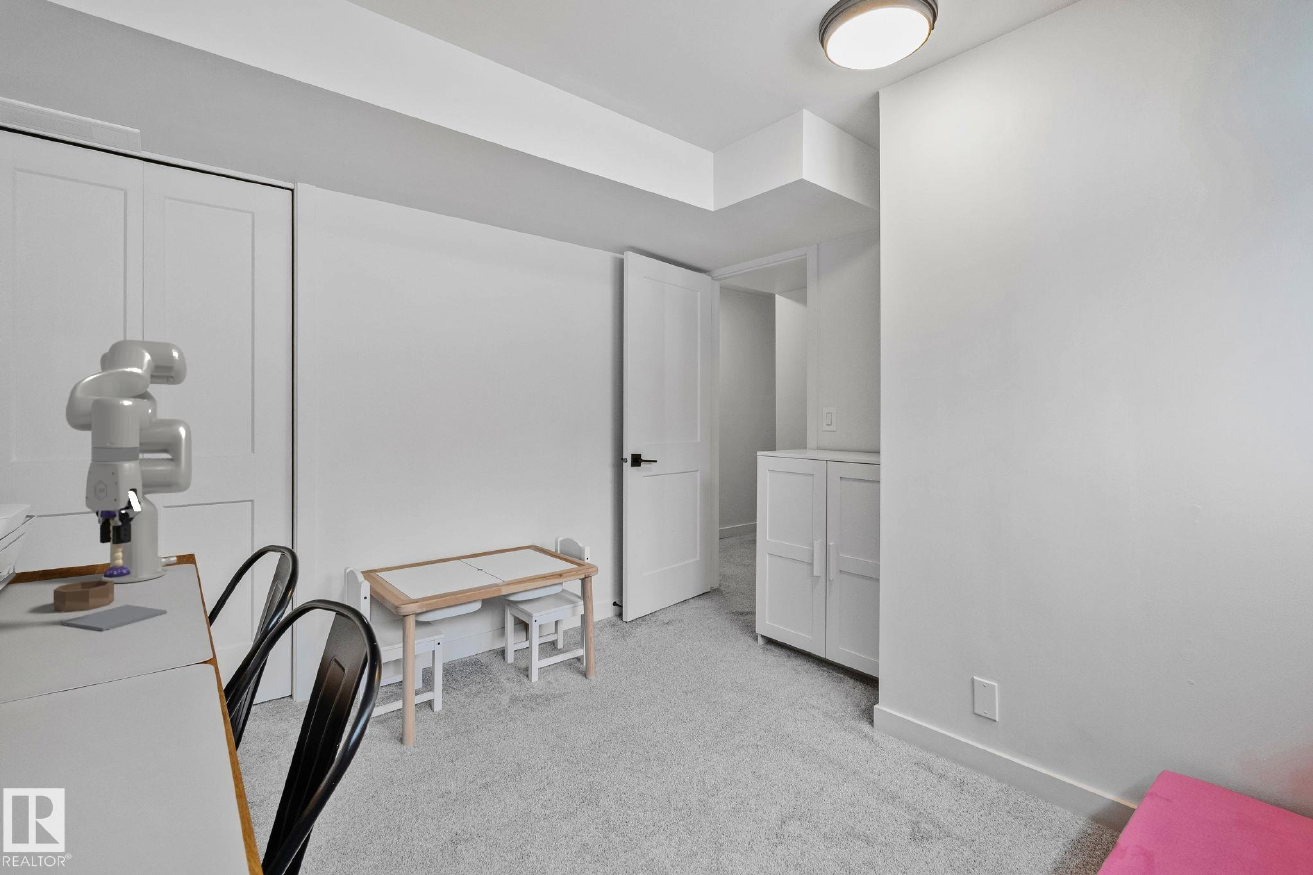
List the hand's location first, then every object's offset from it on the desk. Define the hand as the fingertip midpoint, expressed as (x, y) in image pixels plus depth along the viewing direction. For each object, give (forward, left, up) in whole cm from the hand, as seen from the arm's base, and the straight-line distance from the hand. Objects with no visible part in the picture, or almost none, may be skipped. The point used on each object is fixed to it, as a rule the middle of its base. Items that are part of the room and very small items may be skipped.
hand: (115, 541), depth 126 cm
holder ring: (-4, -16, -16) cm, 23 cm away
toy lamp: (0, 0, -7) cm, 7 cm away
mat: (0, 0, -16) cm, 16 cm away
